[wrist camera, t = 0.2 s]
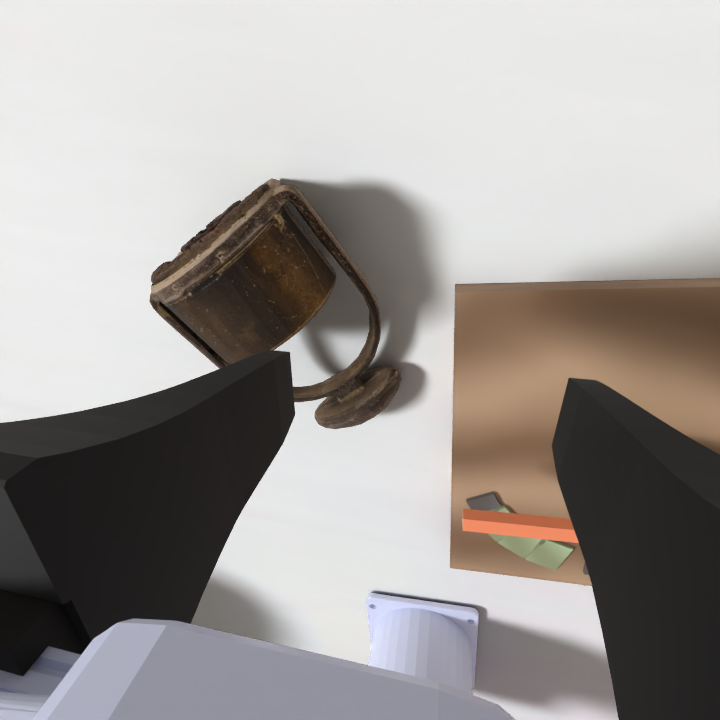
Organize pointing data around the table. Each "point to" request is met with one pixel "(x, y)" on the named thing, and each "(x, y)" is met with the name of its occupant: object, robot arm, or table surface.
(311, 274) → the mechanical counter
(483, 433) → the board
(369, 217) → the table surface
